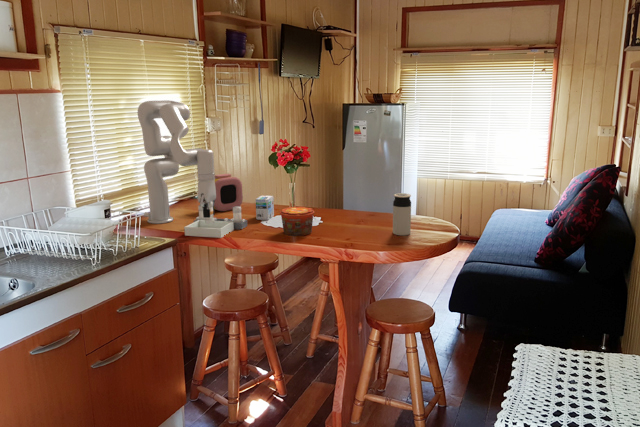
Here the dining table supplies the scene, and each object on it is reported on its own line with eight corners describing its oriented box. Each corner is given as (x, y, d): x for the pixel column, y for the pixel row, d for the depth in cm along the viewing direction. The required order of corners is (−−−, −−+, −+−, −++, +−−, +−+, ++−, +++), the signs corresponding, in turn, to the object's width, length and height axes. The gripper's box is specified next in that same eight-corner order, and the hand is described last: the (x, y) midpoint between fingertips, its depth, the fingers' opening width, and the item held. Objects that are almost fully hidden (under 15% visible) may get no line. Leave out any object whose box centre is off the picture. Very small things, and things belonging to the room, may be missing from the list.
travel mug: (397, 236, 242) (397, 197, 238) (389, 232, 249) (390, 193, 245) (413, 235, 244) (414, 195, 240) (405, 230, 252) (406, 192, 248)
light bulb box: (268, 220, 275) (267, 199, 272) (255, 219, 276) (255, 199, 274) (274, 215, 285) (273, 195, 283) (262, 215, 286) (261, 195, 284)
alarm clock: (215, 213, 291) (213, 177, 286) (204, 210, 299) (202, 175, 294) (244, 208, 303) (242, 174, 299) (233, 205, 311) (231, 171, 306)
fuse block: (193, 226, 263) (193, 218, 262) (200, 223, 270) (199, 215, 269) (241, 229, 257) (241, 221, 256) (247, 225, 264) (247, 217, 263)
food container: (277, 236, 244) (276, 213, 242) (284, 227, 260) (283, 205, 257) (312, 237, 242) (311, 214, 240) (317, 228, 257) (316, 206, 255)
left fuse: (198, 226, 264) (196, 206, 262) (201, 224, 268) (200, 204, 266) (205, 226, 263) (204, 206, 261) (209, 224, 267) (208, 204, 265)
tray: (184, 235, 248) (184, 227, 247) (199, 228, 261) (198, 219, 260) (221, 237, 243) (220, 229, 242) (233, 229, 257) (233, 221, 256)
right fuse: (232, 228, 260) (231, 207, 258) (235, 226, 264) (234, 206, 261) (240, 228, 259) (239, 208, 257) (243, 226, 263) (242, 206, 260)
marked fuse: (203, 223, 250) (202, 202, 247) (207, 221, 253) (206, 200, 251) (211, 224, 248) (210, 202, 246) (215, 222, 252) (214, 201, 250)
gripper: (207, 174, 255) (209, 212, 259) (190, 179, 239) (193, 220, 243) (221, 174, 253) (224, 212, 257) (205, 180, 237) (208, 220, 241)
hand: (209, 215), depth 250 cm, fingers closed on marked fuse, 3 cm apart
